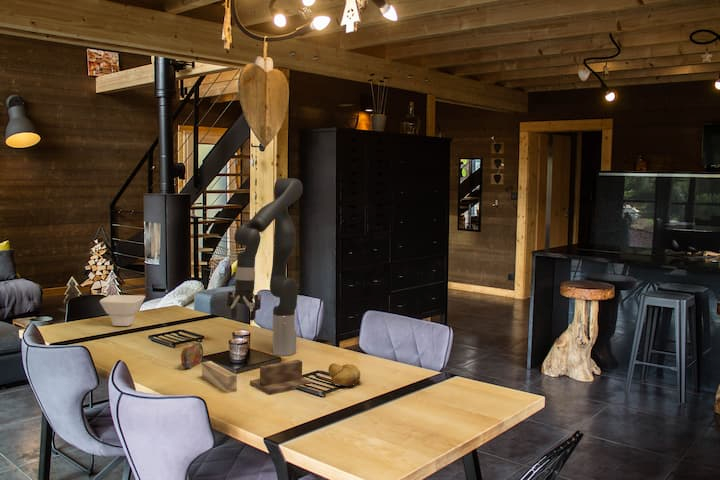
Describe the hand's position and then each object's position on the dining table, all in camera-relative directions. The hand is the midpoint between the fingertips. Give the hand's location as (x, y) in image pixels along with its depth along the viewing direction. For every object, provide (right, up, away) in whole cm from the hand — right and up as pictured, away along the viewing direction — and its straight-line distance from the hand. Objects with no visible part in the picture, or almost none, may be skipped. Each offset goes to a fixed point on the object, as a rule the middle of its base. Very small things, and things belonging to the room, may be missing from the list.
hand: (242, 319), depth 263 cm
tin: (-21, -19, +2) cm, 28 cm away
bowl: (-72, -12, +70) cm, 101 cm away
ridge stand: (+18, -22, -22) cm, 35 cm away
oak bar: (-5, -21, -22) cm, 31 cm away
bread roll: (+42, -22, -18) cm, 51 cm away
